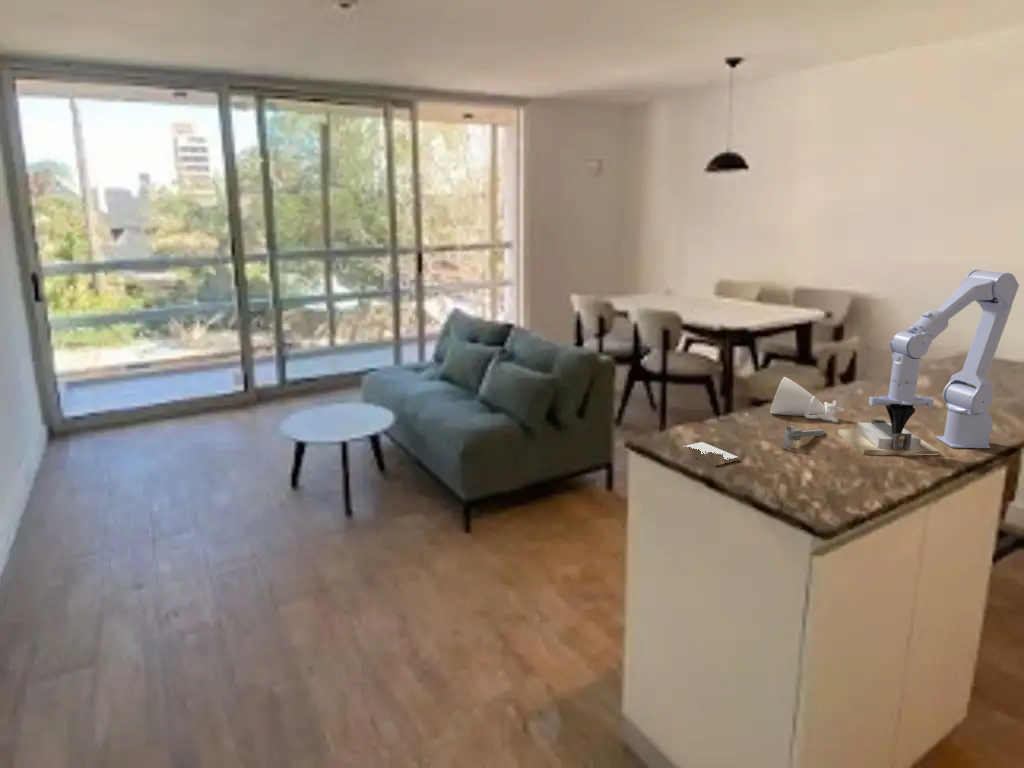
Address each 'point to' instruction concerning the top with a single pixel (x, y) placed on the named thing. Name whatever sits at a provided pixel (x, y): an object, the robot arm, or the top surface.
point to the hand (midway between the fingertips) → (896, 433)
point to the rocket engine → (801, 403)
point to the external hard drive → (711, 450)
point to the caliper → (798, 435)
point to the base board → (881, 451)
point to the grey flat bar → (886, 428)
